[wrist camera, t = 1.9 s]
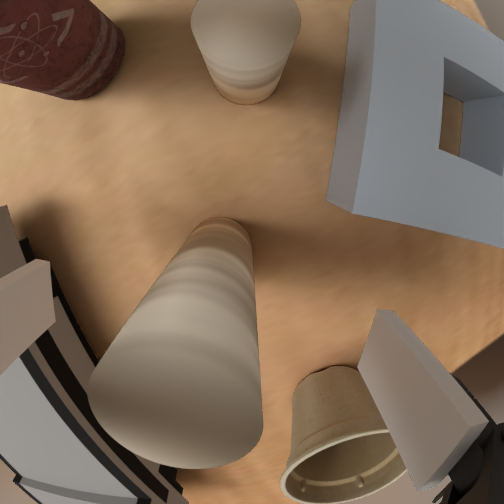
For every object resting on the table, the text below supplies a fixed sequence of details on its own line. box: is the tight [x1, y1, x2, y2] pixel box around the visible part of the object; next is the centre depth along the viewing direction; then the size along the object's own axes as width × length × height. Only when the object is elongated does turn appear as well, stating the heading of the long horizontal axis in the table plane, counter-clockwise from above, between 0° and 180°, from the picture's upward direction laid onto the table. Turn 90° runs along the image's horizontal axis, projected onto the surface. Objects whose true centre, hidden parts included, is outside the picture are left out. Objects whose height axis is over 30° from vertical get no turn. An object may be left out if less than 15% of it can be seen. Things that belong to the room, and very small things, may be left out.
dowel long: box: [87, 217, 263, 469], centre depth 12 cm, size 4×4×14 cm
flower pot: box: [280, 366, 407, 504], centre depth 19 cm, size 9×9×9 cm
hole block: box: [326, 0, 504, 249], centre depth 15 cm, size 14×14×5 cm
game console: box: [0, 205, 189, 504], centre depth 19 cm, size 21×32×8 cm, turn 17°
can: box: [0, 0, 125, 100], centre depth 9 cm, size 6×6×14 cm
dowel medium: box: [191, 0, 301, 105], centre depth 12 cm, size 4×4×8 cm
